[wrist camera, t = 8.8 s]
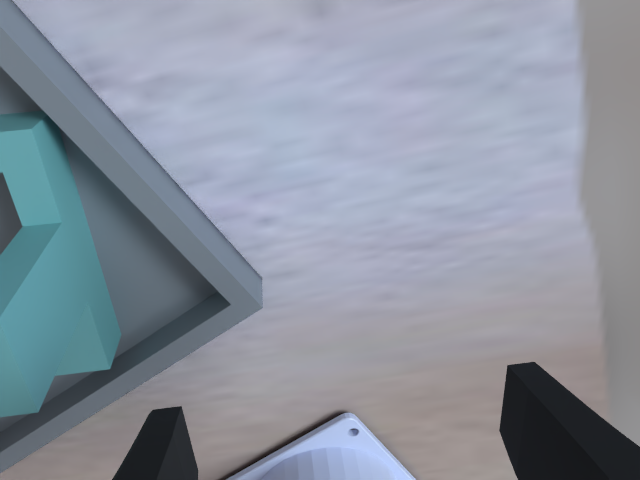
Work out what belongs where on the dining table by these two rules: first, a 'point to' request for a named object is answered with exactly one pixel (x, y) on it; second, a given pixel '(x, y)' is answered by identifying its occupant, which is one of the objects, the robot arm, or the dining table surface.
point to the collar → (47, 271)
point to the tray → (118, 241)
